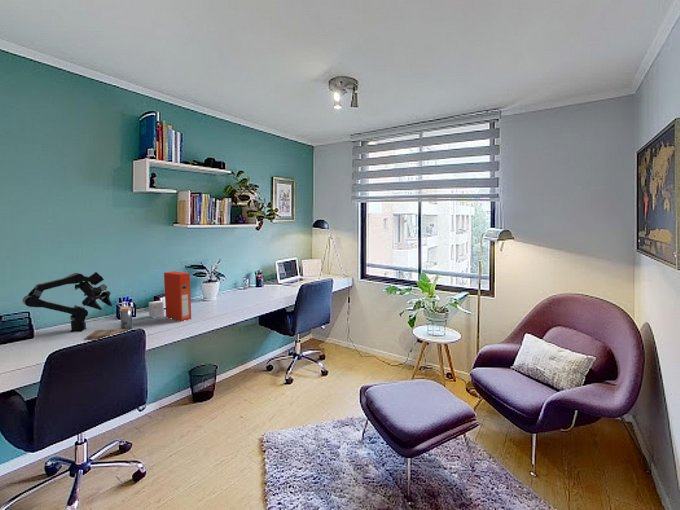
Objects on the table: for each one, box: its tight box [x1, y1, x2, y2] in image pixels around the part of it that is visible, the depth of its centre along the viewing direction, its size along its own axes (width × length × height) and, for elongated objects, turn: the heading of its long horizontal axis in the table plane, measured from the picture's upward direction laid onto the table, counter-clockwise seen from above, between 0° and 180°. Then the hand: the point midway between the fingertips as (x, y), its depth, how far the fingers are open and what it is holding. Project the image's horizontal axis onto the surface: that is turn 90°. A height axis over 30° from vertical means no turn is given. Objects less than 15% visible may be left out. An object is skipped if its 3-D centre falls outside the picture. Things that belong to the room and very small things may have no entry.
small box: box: [148, 300, 165, 319], centre depth 254 cm, size 8×6×10 cm
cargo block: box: [120, 306, 132, 311], centre depth 224 cm, size 4×4×2 cm
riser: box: [86, 328, 130, 340], centre depth 213 cm, size 18×11×2 cm, turn 102°
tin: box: [120, 309, 133, 331], centre depth 225 cm, size 6×6×12 cm
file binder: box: [163, 270, 192, 322], centre depth 249 cm, size 8×17×32 cm, turn 58°
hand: (106, 307), depth 224 cm, fingers open, 9 cm apart
